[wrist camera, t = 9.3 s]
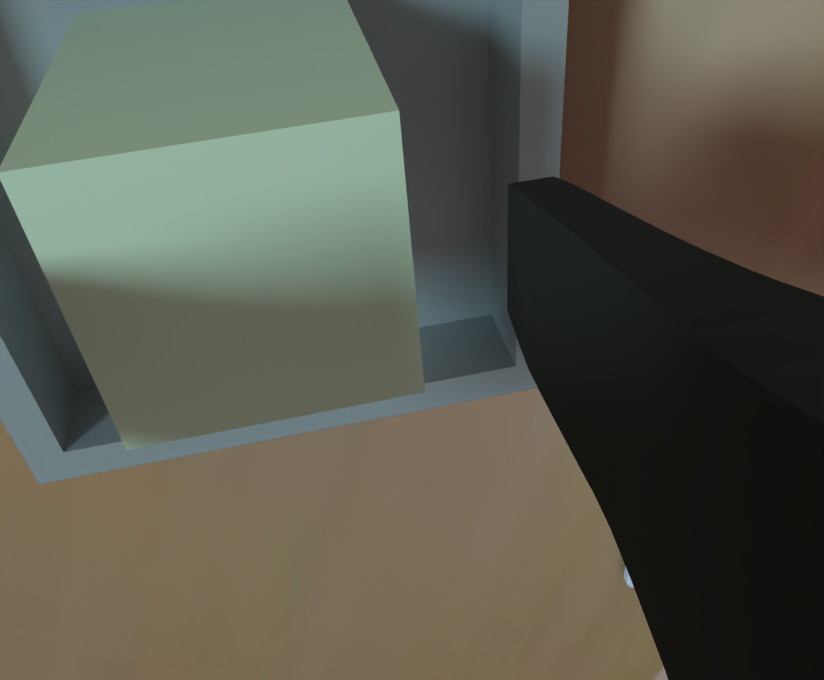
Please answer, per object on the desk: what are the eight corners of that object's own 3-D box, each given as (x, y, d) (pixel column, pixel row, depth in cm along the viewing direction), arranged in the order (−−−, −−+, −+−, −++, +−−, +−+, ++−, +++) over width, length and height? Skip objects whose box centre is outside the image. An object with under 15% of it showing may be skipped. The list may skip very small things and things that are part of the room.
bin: (528, -407, 11) (592, -435, 9) (516, 321, 20) (548, 385, 18) (-328, -336, 10) (-458, -353, 8) (58, 406, 19) (38, 484, 17)
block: (337, -21, 13) (399, 110, 9) (366, 204, 16) (425, 392, 12) (74, 14, 13) (-4, 172, 8) (152, 240, 16) (126, 450, 11)
